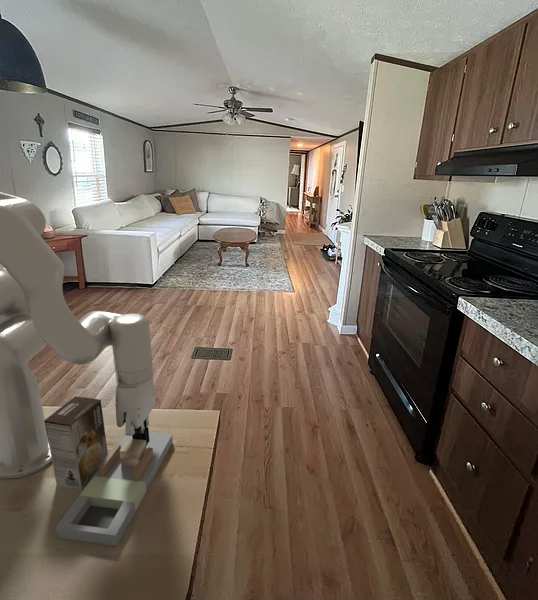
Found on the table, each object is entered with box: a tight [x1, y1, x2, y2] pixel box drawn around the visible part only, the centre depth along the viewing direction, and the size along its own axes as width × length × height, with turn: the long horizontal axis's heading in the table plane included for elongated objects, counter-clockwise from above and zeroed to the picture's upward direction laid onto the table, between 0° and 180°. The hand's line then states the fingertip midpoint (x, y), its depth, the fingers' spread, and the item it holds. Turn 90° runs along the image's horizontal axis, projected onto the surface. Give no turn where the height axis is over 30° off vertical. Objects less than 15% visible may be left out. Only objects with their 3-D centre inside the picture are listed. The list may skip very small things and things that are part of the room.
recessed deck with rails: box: [55, 431, 174, 547], centre depth 78 cm, size 11×27×5 cm, turn 173°
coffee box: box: [44, 396, 109, 491], centre depth 78 cm, size 9×6×16 cm
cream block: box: [120, 439, 147, 468], centre depth 80 cm, size 4×4×4 cm
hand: (141, 443), depth 85 cm, fingers closed
